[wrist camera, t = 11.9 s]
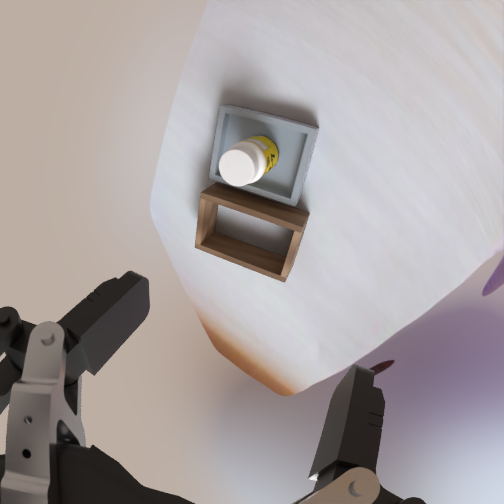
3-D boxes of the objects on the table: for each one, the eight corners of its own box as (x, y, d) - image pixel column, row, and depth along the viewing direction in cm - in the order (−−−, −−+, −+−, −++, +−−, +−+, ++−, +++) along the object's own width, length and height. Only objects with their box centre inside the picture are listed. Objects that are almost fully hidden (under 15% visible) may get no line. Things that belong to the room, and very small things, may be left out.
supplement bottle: (269, 177, 38) (244, 199, 32) (238, 158, 39) (208, 175, 32) (287, 146, 36) (266, 161, 29) (255, 127, 36) (226, 137, 29)
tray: (228, 104, 36) (220, 105, 34) (319, 127, 34) (316, 129, 32) (216, 174, 42) (208, 178, 40) (299, 200, 39) (295, 206, 38)
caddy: (216, 182, 42) (200, 192, 39) (309, 213, 40) (302, 227, 36) (209, 233, 47) (194, 247, 44) (292, 265, 44) (284, 282, 41)
